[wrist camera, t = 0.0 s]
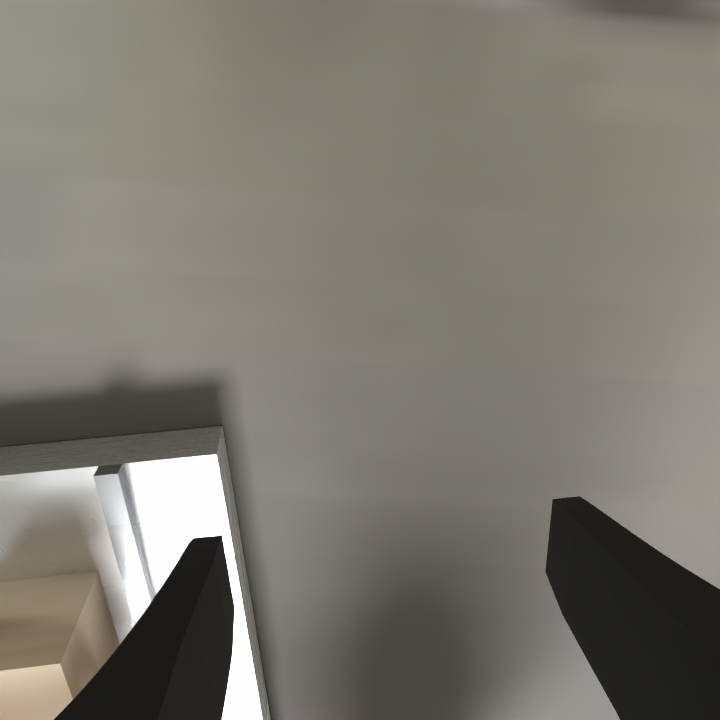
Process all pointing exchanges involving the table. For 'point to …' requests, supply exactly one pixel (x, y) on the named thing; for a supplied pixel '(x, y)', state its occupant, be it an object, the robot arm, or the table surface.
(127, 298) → the table surface
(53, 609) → the tan cube
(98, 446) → the slotted bed
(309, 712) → the table surface
